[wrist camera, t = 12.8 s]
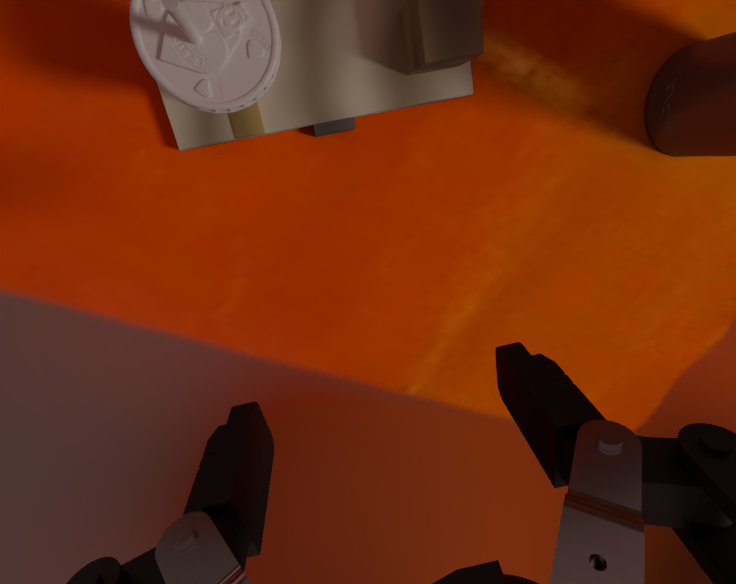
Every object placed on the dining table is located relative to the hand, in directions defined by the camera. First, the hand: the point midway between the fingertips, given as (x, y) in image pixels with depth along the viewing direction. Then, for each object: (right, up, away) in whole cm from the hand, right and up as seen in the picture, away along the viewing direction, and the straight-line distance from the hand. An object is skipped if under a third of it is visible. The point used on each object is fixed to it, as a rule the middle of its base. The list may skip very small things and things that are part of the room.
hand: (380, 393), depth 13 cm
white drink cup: (-10, +18, +14) cm, 24 cm away
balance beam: (-4, +20, +15) cm, 26 cm away
